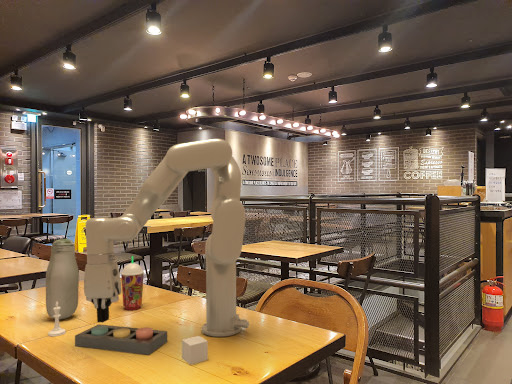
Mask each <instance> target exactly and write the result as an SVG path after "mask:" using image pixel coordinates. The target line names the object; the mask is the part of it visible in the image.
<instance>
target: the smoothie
mask: <svg viewBox="0 0 512 384" xmlns="http://www.w3.org/2000/svg"><path fill="white" fill-rule="evenodd" d="M144 273H145V272H144V270H143V268H142V267H141V266H140V264H138V263H135V262H134V255H132V256H131V263H128V264H127V265H125V266H124V267H123V269H122V271H121V273H120V279H121V294H122V304H123V306H122V307H124V309H125V310H126V311H136V310H138V309H141V305H143V293H144V291H143V289H144V275H145V274H144Z"/></svg>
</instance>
